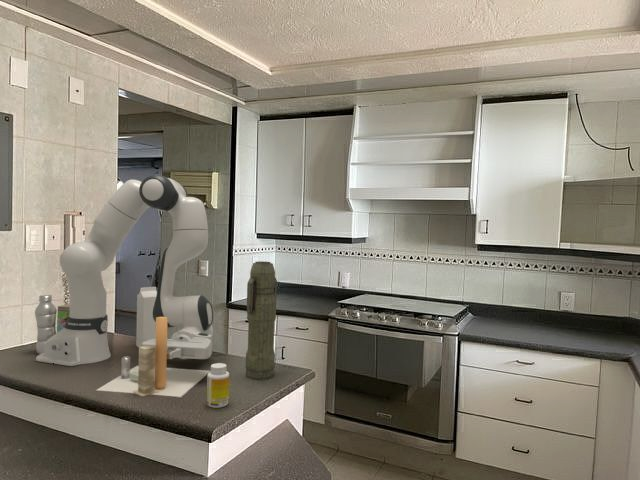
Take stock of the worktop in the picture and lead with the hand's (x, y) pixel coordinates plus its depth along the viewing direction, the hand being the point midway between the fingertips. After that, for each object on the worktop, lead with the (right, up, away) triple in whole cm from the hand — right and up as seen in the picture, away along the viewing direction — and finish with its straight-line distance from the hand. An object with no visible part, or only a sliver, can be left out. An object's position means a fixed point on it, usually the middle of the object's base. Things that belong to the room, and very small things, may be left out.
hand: (165, 356), depth 134 cm
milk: (-20, -7, +42) cm, 47 cm away
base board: (-4, -9, +6) cm, 11 cm away
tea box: (-46, -6, +45) cm, 65 cm away
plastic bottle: (-50, -7, +29) cm, 58 cm away
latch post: (-4, -9, -4) cm, 11 cm away
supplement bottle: (+17, -10, -11) cm, 22 cm away
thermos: (+25, -9, +14) cm, 30 cm away
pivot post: (-14, -8, +7) cm, 17 cm away
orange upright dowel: (-6, -8, +2) cm, 10 cm away
